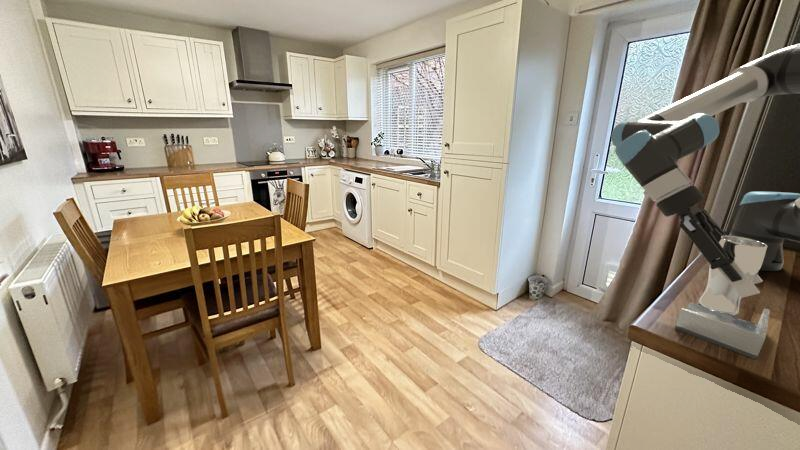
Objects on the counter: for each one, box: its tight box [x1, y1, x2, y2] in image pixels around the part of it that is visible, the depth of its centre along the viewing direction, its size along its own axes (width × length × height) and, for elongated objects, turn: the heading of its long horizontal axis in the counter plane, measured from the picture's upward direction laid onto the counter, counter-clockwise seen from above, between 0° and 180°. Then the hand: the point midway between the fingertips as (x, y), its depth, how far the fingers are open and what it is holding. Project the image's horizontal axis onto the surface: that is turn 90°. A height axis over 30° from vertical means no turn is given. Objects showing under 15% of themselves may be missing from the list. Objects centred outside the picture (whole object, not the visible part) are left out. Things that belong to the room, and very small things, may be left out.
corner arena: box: [674, 302, 771, 360], centre depth 68 cm, size 15×12×5 cm
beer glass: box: [698, 235, 768, 316], centre depth 65 cm, size 7×7×15 cm
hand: (752, 288), depth 63 cm, fingers closed on beer glass, 7 cm apart
